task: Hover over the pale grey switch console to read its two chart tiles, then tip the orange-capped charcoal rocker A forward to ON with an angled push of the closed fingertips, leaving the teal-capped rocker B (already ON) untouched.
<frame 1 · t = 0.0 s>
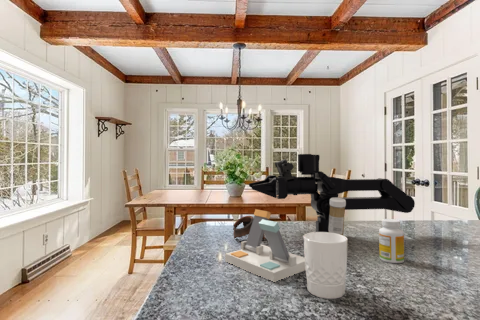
hand: (250, 186, 90), 17 cm above the countertop, tool horizontal, fingers open, 9 cm apart
sprinkles bottle: (335, 242, 86), on the countertop, touching arm
pottery mug: (249, 239, 90), on the countertop
white cup: (325, 291, 52), on the countertop
rocker A: (257, 230, 71), point 7 cm above the countertop, hinge at -25.0°
supplement bottle: (391, 260, 69), on the countertop
console: (266, 264, 66), on the countertop
rocker B: (275, 242, 61), point 7 cm above the countertop, hinge at 28.0°
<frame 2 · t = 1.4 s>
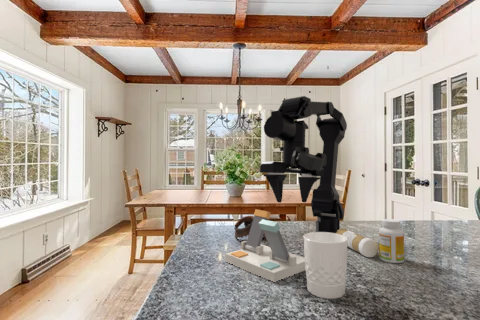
hand: (292, 202, 74), 13 cm above the countertop, tool pointing down, fingers open, 9 cm apart
sprinkles bottle: (341, 235, 84), point 2 cm above the countertop
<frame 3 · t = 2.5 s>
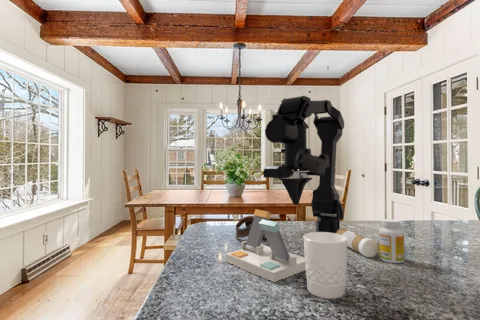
hand: (295, 204, 73), 13 cm above the countertop, tool pointing down, fingers closed
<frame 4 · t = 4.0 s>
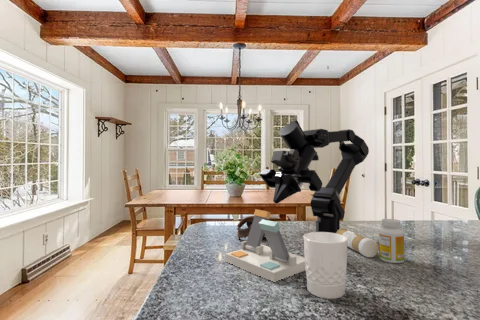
hand: (275, 202, 75), 13 cm above the countertop, tool tilted 45°, fingers closed
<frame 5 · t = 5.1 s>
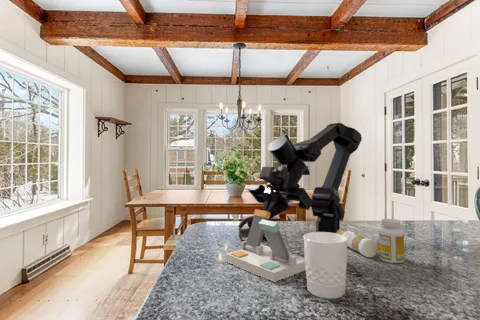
hand: (263, 220, 72), 9 cm above the countertop, tool tilted 45°, fingers closed, pressing on rocker A
rocker A: (257, 230, 71), point 7 cm above the countertop, hinge at -24.0°, touching gripper
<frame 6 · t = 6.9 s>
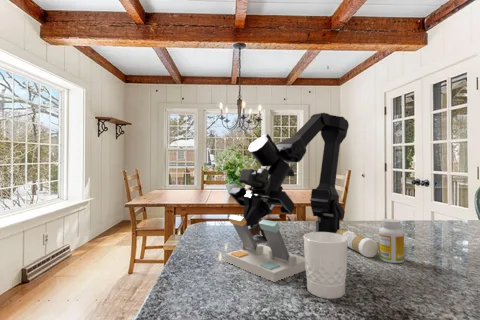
hand: (242, 227, 68), 8 cm above the countertop, tool tilted 45°, fingers closed, pressing on rocker A
rocker A: (244, 234, 68), point 7 cm above the countertop, hinge at 31.5°, touching gripper
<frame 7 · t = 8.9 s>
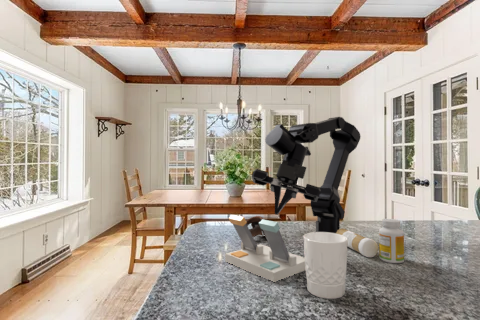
hand: (276, 214, 75), 10 cm above the countertop, tool tilted 25°, fingers closed
rocker A: (244, 234, 68), point 7 cm above the countertop, hinge at 31.5°
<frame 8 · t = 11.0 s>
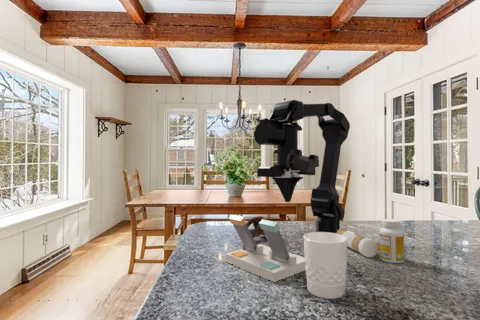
hand: (287, 201, 78), 13 cm above the countertop, tool pointing down, fingers closed
at the end: rocker A at +32° (first picture: -25°); rocker B at +28° (first picture: +28°) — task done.
